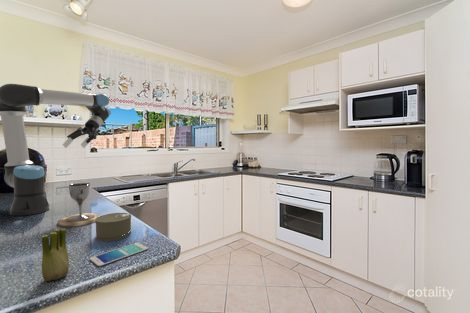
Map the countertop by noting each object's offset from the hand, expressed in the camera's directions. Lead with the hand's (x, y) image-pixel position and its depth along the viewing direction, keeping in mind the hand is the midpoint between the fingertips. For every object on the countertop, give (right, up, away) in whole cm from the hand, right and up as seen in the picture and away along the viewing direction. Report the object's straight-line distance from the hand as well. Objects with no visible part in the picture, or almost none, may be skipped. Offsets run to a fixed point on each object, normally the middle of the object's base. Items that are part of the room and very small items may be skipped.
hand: (73, 146), depth 139 cm
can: (+51, -36, -51) cm, 81 cm away
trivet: (+27, -35, -35) cm, 56 cm away
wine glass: (+27, -34, -34) cm, 55 cm away
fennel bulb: (+52, -37, -80) cm, 102 cm away
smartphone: (+61, -37, -67) cm, 98 cm away
